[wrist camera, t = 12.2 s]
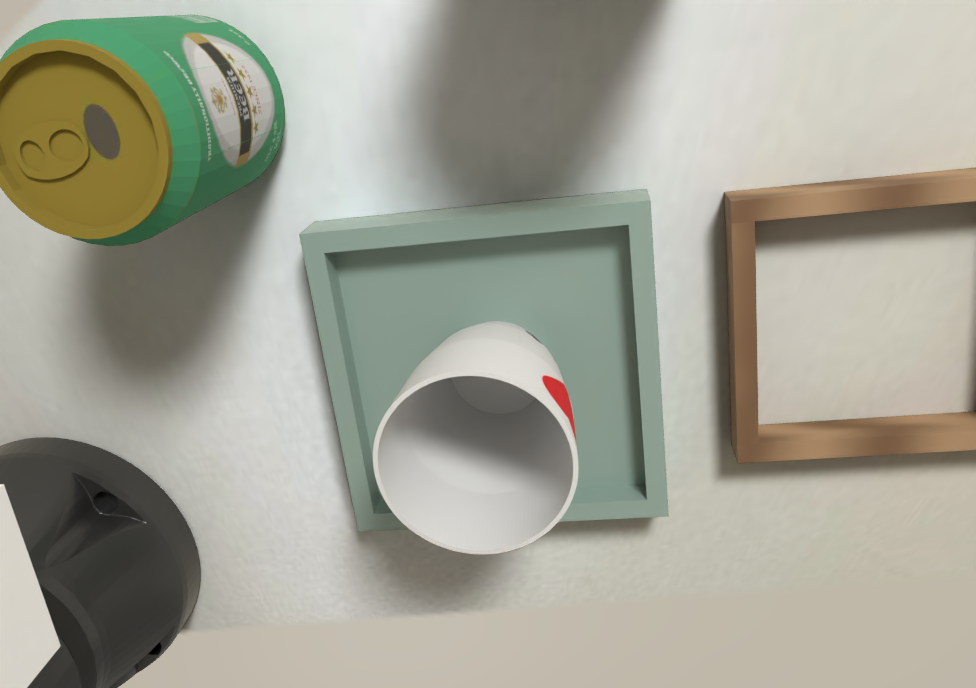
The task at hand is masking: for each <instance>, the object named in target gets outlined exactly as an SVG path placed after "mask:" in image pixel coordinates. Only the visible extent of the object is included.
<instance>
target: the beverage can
mask: <svg viewBox="0 0 976 688" xmlns="http://www.w3.org/2000/svg"><path fill="white" fill-rule="evenodd" d="M284 126H285V107H284V100H283V95H282V91H281V87H280V84H279V81H278V79H277V76H276V74H275V72H274V70H273V68H272V66H271V65H270V63H269V61H268V60H267V58H266V56H265V55H264V54H263V53H262V52H261V50H260V49H259V48H258V47H257V46H256V44H254V43H253V42H252V41H251V40H250V39H249V38H248V37H247V36H246V35H244V34H243V33H241V32H240V31H238V30H237V29H235V28H234V27H232V26H230V25H228V24H226V23H224V22H222V21H220V20H216V19H213V18H210V17H206V16H198V15H175V16H152V17H128V18H104V19H81V20H61V21H56V22H52V23H48V24H44V25H42V26H40V27H38V28H35V29H33V30H31V31H29V32H28V33H26V34H25V35H23V36H22V37H21V38H19V39H18V40H16V41H15V43H14V44H13V45H12V46H11V47H10V48H9V49H8V50H7V51H6V52H5V54H4V55H3V57H2V58H1V60H0V187H1V189H2V190H3V191H4V193H5V194H6V195H7V197H8V198H9V199H10V200H11V201H12V202H13V203H14V204H15V205H16V206H17V207H18V208H19V209H20V210H21V211H22V212H24V213H25V214H26V215H27V216H28V217H30V218H31V219H32V220H34V221H36V222H37V223H39V224H40V225H42V226H44V227H46V228H48V229H50V230H52V231H55V232H57V233H60V234H63V235H67V236H70V237H72V238H74V239H77V240H81V241H84V242H87V243H91V244H98V245H106V246H115V245H127V244H132V243H138V242H140V241H143V240H146V239H148V238H151V237H153V236H155V235H157V234H159V233H160V232H162V231H164V230H166V229H168V228H169V227H171V226H173V225H175V224H177V223H179V222H180V221H182V220H184V219H186V218H188V217H189V216H191V215H193V214H195V213H197V212H199V211H200V210H202V209H204V208H206V207H208V206H209V205H211V204H213V203H215V202H217V201H218V200H220V199H222V198H224V197H226V196H228V195H229V194H231V193H233V192H235V191H237V190H238V189H240V188H242V187H244V186H246V185H247V184H249V183H251V182H252V181H254V180H255V179H256V178H257V177H259V176H260V175H261V174H262V173H263V172H264V171H265V170H266V169H267V167H268V166H269V165H270V164H271V162H272V161H273V159H274V157H275V155H276V153H277V152H278V149H279V146H280V143H281V141H282V137H283V131H284Z"/></svg>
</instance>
